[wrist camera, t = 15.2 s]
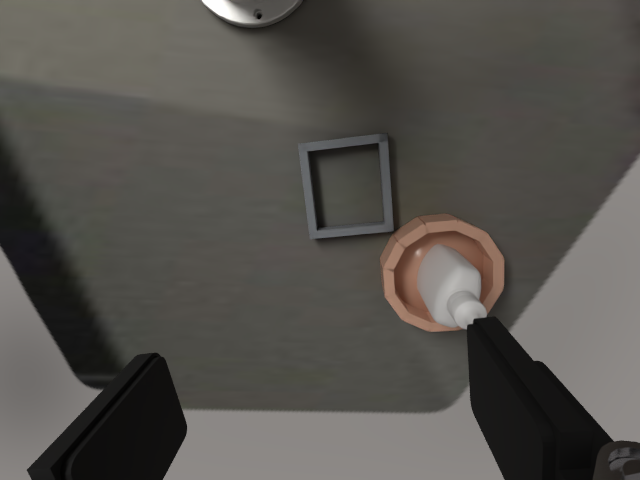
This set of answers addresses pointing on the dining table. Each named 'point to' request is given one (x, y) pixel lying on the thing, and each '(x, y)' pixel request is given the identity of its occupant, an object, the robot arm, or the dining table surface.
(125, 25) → the dining table surface
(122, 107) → the dining table surface
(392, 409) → the dining table surface
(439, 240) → the bowl
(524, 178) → the dining table surface
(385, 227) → the open rectangular frame
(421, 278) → the eye dropper bottle
